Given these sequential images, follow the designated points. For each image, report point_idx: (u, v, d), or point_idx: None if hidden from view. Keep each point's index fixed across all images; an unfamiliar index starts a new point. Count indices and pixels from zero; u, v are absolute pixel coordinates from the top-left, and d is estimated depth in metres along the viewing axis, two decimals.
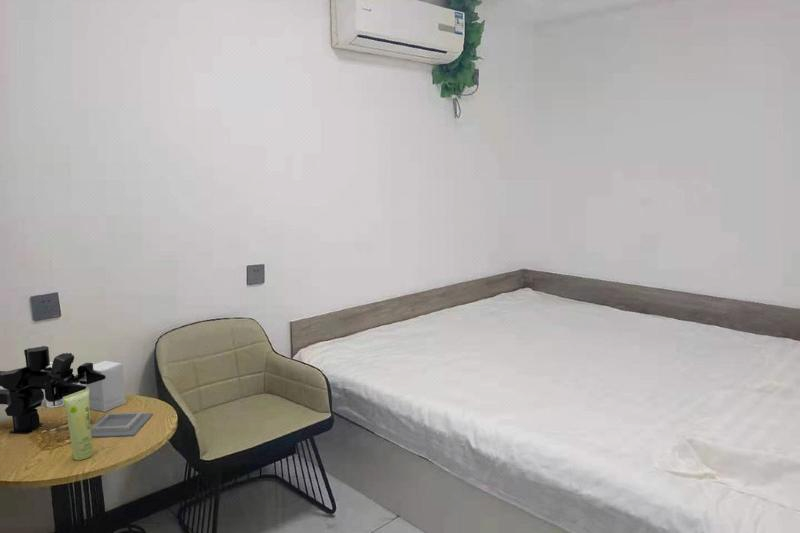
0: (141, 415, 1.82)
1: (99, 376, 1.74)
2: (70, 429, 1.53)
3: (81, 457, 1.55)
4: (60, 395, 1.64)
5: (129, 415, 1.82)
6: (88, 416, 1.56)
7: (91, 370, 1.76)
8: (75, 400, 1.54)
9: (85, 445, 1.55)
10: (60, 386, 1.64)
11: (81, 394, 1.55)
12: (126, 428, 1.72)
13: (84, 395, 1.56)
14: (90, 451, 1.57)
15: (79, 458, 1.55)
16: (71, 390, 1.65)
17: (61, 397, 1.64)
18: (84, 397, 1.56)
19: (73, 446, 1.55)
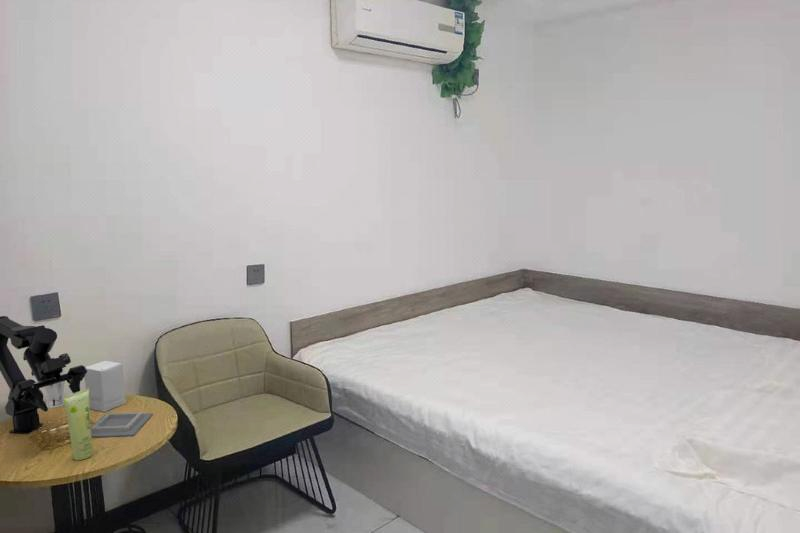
0: (141, 415, 1.82)
1: None
2: (70, 429, 1.53)
3: (81, 457, 1.55)
4: (26, 398, 1.56)
5: (129, 415, 1.82)
6: (88, 416, 1.56)
7: (77, 381, 1.65)
8: (75, 400, 1.54)
9: (85, 445, 1.55)
10: (30, 393, 1.55)
11: (81, 394, 1.55)
12: (126, 428, 1.72)
13: (84, 395, 1.56)
14: (90, 451, 1.57)
15: (79, 458, 1.55)
16: (36, 402, 1.56)
17: (26, 400, 1.57)
18: (84, 397, 1.56)
19: (73, 446, 1.55)
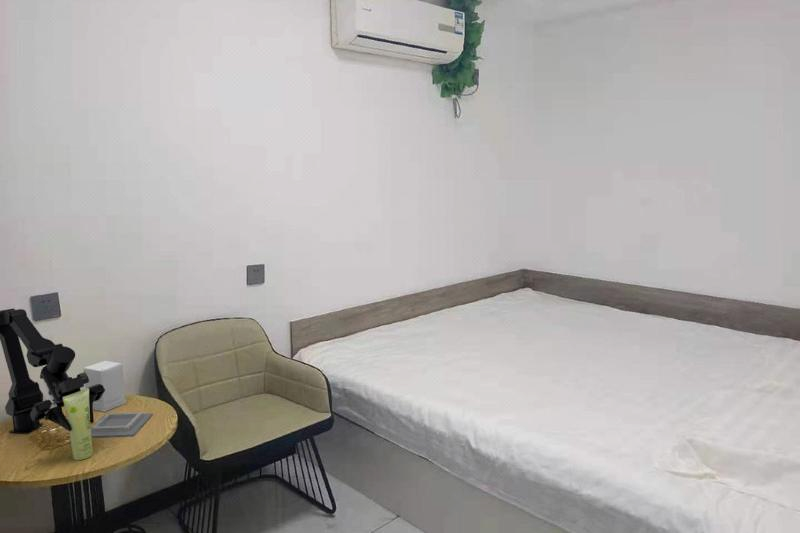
0: (141, 415, 1.82)
1: None
2: None
3: (81, 457, 1.55)
4: (49, 417, 1.53)
5: (129, 415, 1.82)
6: (88, 416, 1.56)
7: (90, 402, 1.59)
8: (75, 400, 1.53)
9: (85, 445, 1.55)
10: (53, 412, 1.52)
11: (81, 394, 1.55)
12: (126, 428, 1.72)
13: (83, 395, 1.56)
14: (90, 451, 1.57)
15: (79, 458, 1.55)
16: (59, 421, 1.53)
17: (49, 419, 1.54)
18: (84, 397, 1.56)
19: (73, 446, 1.54)
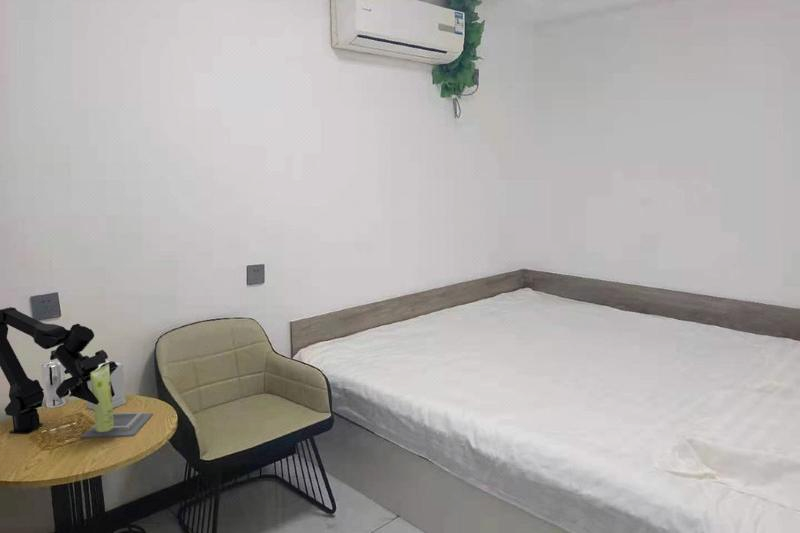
0: (141, 415, 1.82)
1: None
2: None
3: (106, 429, 1.65)
4: (74, 393, 1.60)
5: (129, 415, 1.82)
6: (110, 390, 1.66)
7: None
8: (100, 375, 1.63)
9: (109, 417, 1.65)
10: (79, 388, 1.60)
11: (103, 369, 1.65)
12: (126, 428, 1.72)
13: (106, 370, 1.65)
14: (113, 423, 1.67)
15: (104, 430, 1.64)
16: (85, 396, 1.61)
17: (73, 395, 1.61)
18: (106, 372, 1.65)
19: (98, 419, 1.64)
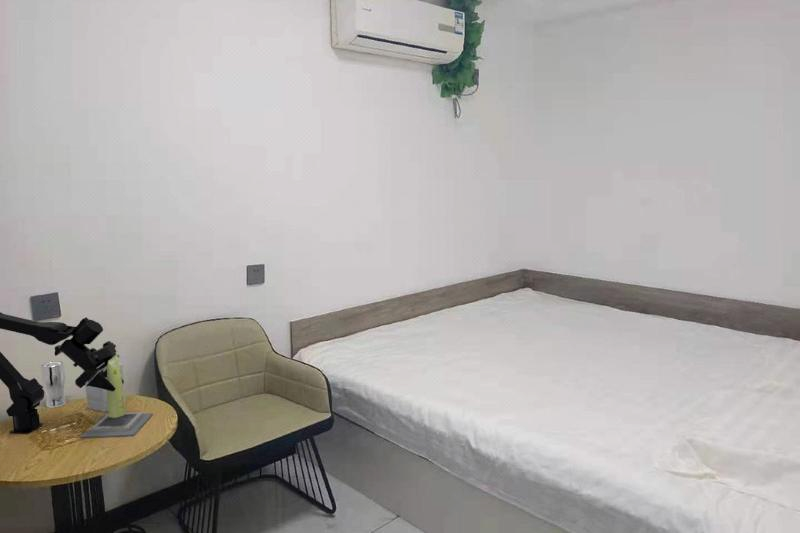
0: (141, 415, 1.82)
1: None
2: None
3: (121, 414, 1.75)
4: (90, 383, 1.69)
5: (129, 415, 1.82)
6: (121, 378, 1.77)
7: None
8: (114, 363, 1.73)
9: (123, 403, 1.76)
10: (97, 377, 1.69)
11: (115, 359, 1.75)
12: (126, 428, 1.72)
13: (116, 359, 1.76)
14: None
15: (119, 415, 1.75)
16: (102, 384, 1.71)
17: (90, 385, 1.69)
18: (117, 361, 1.76)
19: (114, 405, 1.74)
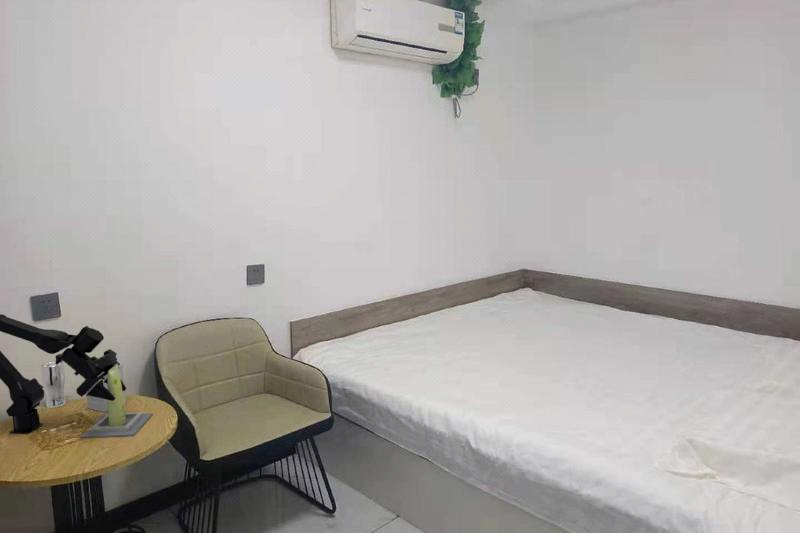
0: (141, 415, 1.82)
1: None
2: None
3: (121, 423, 1.76)
4: (90, 393, 1.68)
5: (129, 415, 1.82)
6: (121, 387, 1.77)
7: None
8: (114, 373, 1.74)
9: (123, 412, 1.77)
10: (96, 386, 1.69)
11: (115, 368, 1.75)
12: (126, 428, 1.72)
13: (116, 369, 1.76)
14: (125, 417, 1.78)
15: (120, 425, 1.75)
16: (101, 394, 1.70)
17: (89, 394, 1.68)
18: (117, 370, 1.76)
19: (114, 415, 1.74)
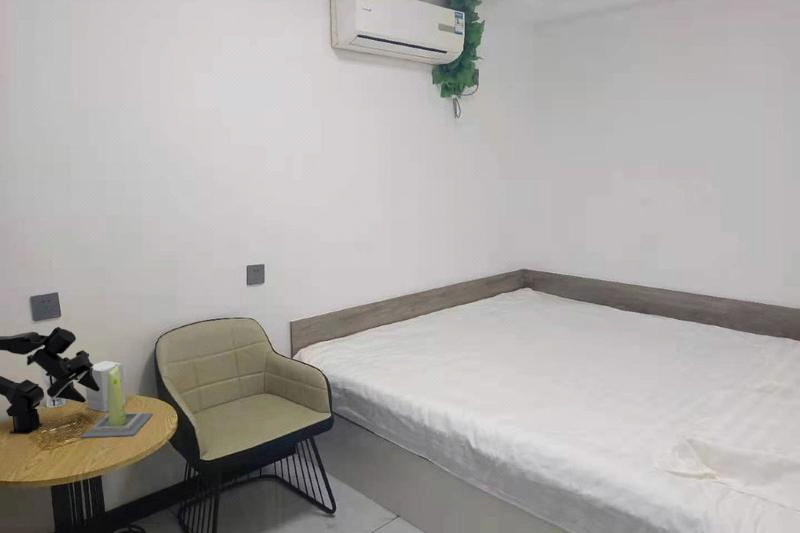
0: (141, 415, 1.82)
1: (95, 386, 1.79)
2: (112, 399, 1.73)
3: (121, 423, 1.76)
4: (60, 394, 1.67)
5: (129, 415, 1.82)
6: (121, 387, 1.77)
7: (91, 375, 1.80)
8: (114, 373, 1.74)
9: (123, 412, 1.77)
10: (66, 388, 1.68)
11: (115, 368, 1.75)
12: (126, 428, 1.72)
13: (116, 369, 1.76)
14: (125, 417, 1.78)
15: (120, 425, 1.75)
16: (72, 396, 1.69)
17: (59, 396, 1.67)
18: (117, 371, 1.76)
19: (114, 415, 1.74)
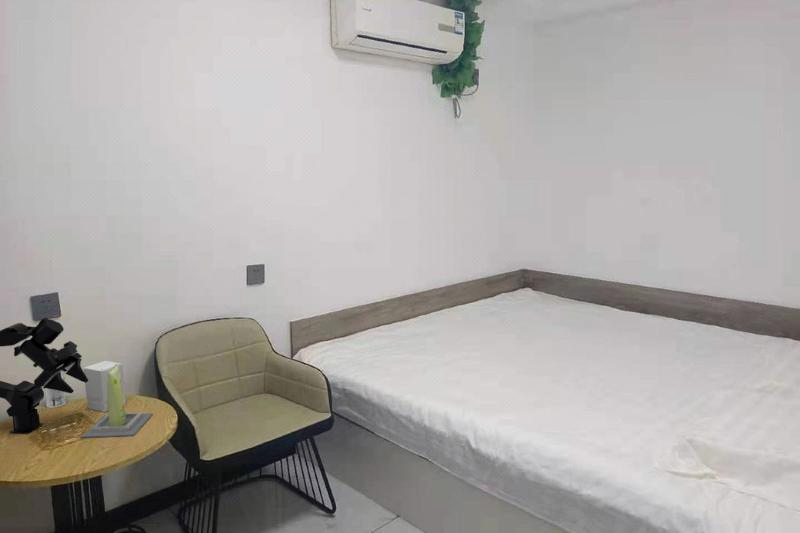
0: (141, 415, 1.82)
1: (83, 377, 1.79)
2: (112, 399, 1.73)
3: (121, 423, 1.76)
4: (47, 385, 1.67)
5: (129, 415, 1.82)
6: (121, 387, 1.77)
7: (79, 366, 1.79)
8: (114, 373, 1.74)
9: (123, 412, 1.77)
10: (54, 379, 1.67)
11: (115, 368, 1.75)
12: (126, 428, 1.72)
13: (116, 369, 1.76)
14: (125, 417, 1.78)
15: (120, 425, 1.75)
16: (59, 386, 1.68)
17: (46, 387, 1.67)
18: (117, 371, 1.76)
19: (114, 415, 1.74)
